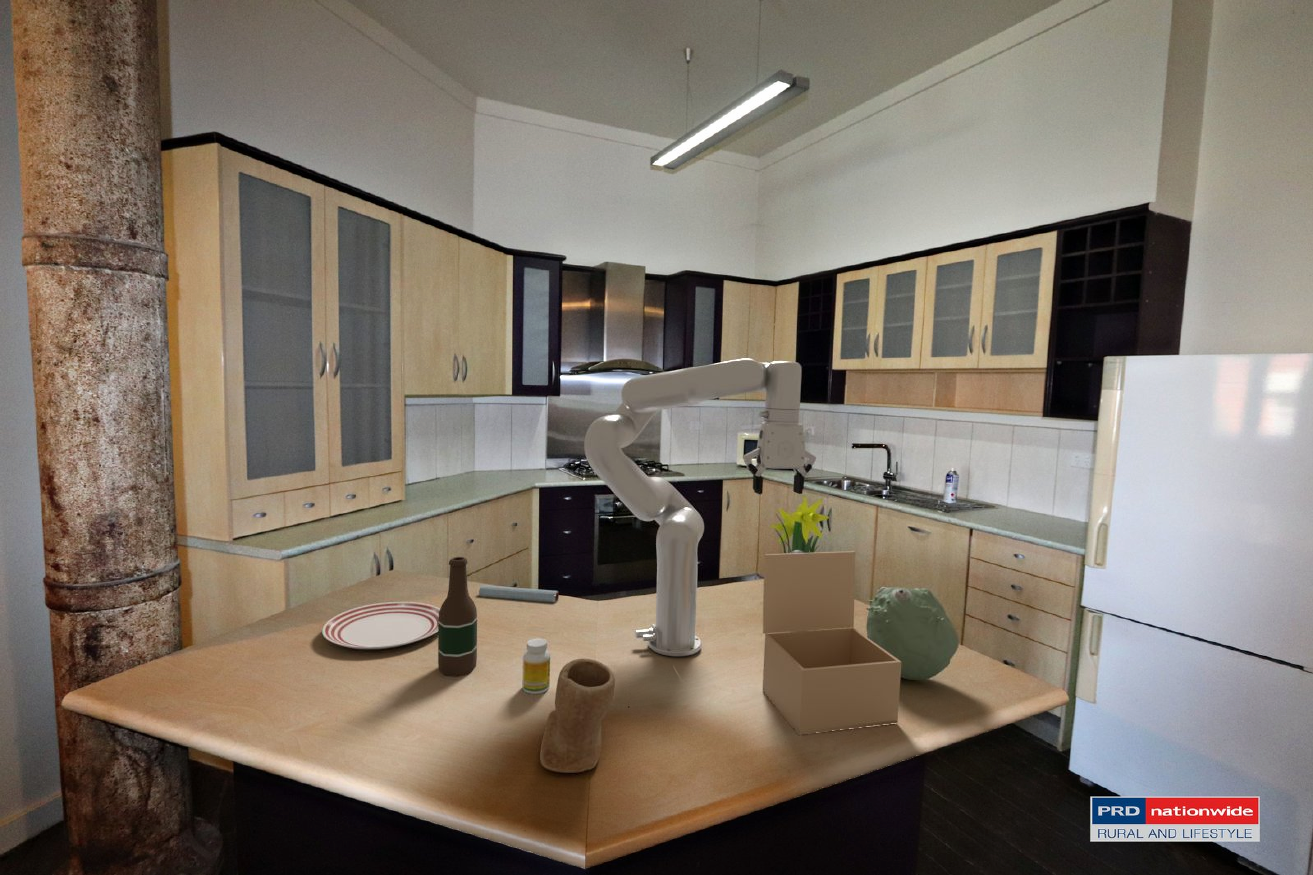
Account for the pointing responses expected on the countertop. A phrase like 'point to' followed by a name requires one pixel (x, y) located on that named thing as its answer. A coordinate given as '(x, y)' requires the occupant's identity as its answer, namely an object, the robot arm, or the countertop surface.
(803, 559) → the lid
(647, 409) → the robot arm
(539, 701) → the countertop surface
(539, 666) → the supplement bottle
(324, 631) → the dinner plate
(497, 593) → the aluminum foil
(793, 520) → the daffodil flowers
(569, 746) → the brown boot
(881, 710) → the carton
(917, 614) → the green lumpy rounded blob
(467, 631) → the beer bottle
